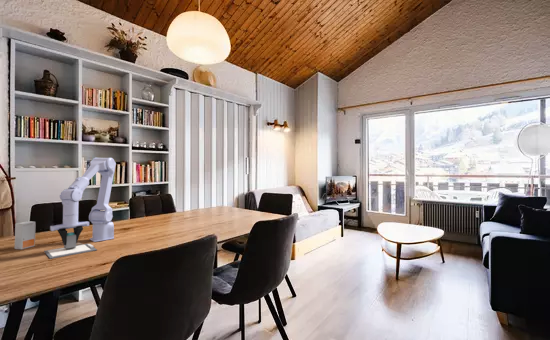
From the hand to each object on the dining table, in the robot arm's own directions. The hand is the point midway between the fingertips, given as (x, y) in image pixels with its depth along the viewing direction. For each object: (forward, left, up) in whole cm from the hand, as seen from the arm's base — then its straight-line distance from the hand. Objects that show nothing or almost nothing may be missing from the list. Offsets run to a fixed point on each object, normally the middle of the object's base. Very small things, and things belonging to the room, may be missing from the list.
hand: (70, 243), depth 125 cm
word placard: (-3, -9, -3) cm, 10 cm away
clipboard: (0, +2, -3) cm, 4 cm away
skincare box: (+14, -19, -3) cm, 24 cm away
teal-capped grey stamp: (0, 0, -2) cm, 2 cm away
